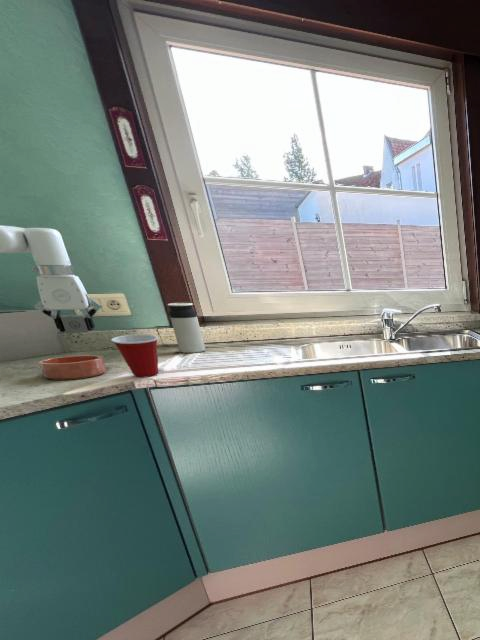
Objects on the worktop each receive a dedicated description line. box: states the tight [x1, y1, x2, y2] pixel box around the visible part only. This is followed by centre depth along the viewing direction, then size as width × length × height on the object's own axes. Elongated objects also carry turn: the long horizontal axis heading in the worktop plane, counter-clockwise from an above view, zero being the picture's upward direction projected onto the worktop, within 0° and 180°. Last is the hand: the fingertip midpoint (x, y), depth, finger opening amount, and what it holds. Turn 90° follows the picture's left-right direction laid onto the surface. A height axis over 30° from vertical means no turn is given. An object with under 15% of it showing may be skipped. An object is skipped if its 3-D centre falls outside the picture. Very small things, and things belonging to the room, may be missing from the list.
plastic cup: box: [110, 334, 159, 378], centre depth 153 cm, size 11×11×12 cm
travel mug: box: [167, 302, 207, 354], centre depth 188 cm, size 8×8×18 cm
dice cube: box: [60, 314, 90, 334], centre depth 157 cm, size 5×5×5 cm
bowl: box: [38, 354, 107, 381], centre depth 151 cm, size 14×14×5 cm
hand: (77, 330), depth 158 cm, fingers closed on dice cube, 5 cm apart
